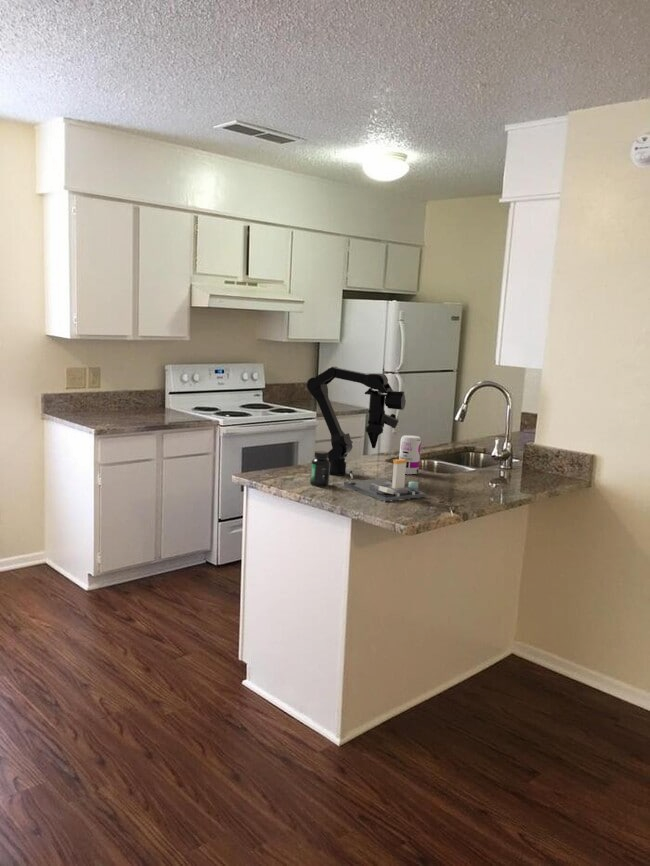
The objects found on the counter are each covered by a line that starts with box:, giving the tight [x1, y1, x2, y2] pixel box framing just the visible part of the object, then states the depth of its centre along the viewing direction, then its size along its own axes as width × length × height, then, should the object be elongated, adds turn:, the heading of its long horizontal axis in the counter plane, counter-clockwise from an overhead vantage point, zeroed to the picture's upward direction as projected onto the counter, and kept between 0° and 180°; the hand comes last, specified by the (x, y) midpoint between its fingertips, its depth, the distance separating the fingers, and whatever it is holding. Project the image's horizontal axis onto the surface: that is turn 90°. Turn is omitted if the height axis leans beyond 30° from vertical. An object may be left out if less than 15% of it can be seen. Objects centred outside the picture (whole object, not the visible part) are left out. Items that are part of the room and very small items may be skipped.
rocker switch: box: [378, 486, 394, 494], centre depth 247 cm, size 4×3×1 cm
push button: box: [407, 480, 419, 490], centre depth 253 cm, size 3×3×2 cm
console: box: [343, 477, 426, 502], centre depth 257 cm, size 24×18×2 cm
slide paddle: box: [388, 458, 408, 494], centre depth 250 cm, size 5×5×11 cm
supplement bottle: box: [309, 450, 331, 488], centre depth 261 cm, size 7×7×12 cm
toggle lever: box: [348, 469, 354, 481], centre depth 260 cm, size 1×1×4 cm
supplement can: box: [398, 434, 422, 475], centre depth 290 cm, size 8×8×15 cm
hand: (373, 448), depth 275 cm, fingers closed
